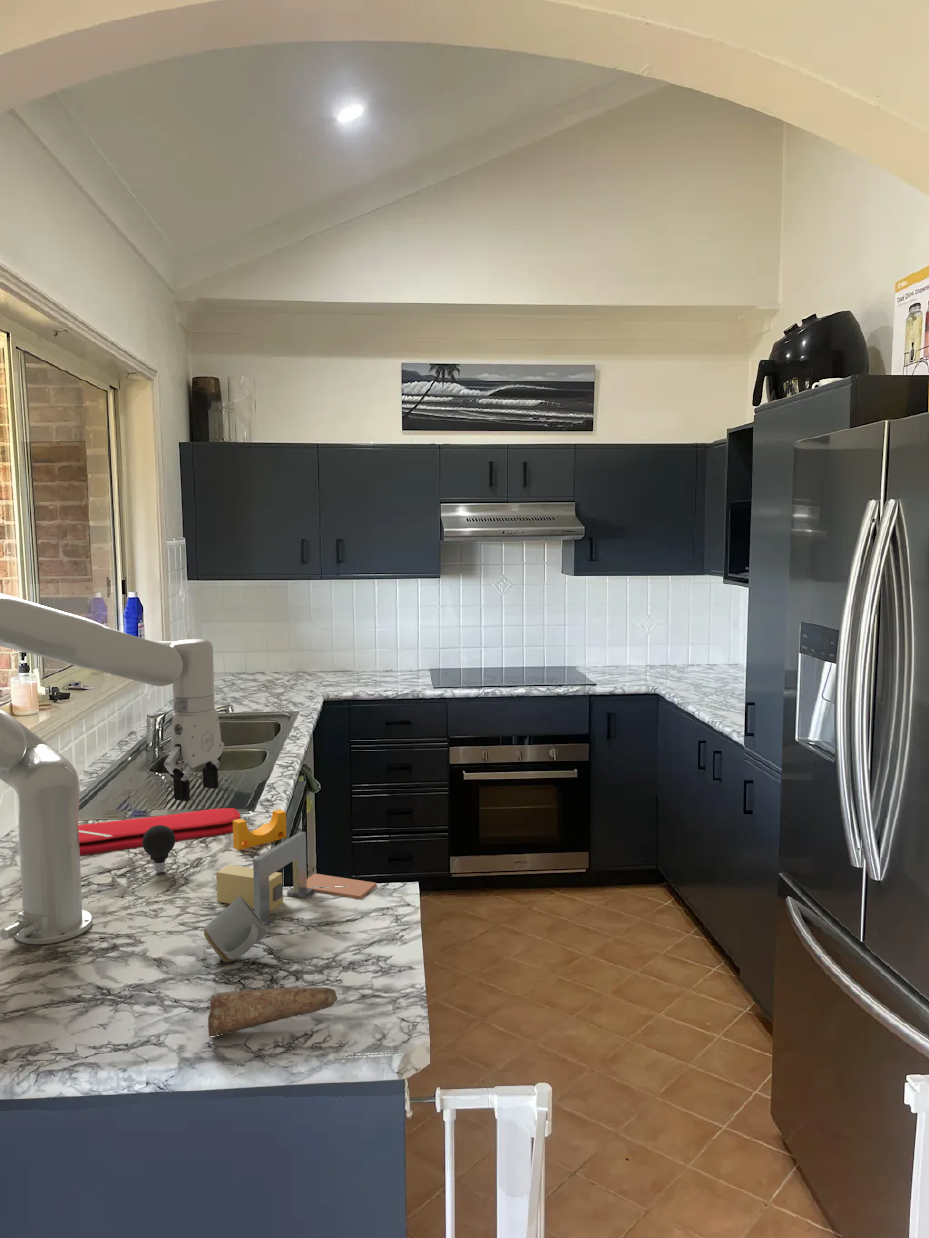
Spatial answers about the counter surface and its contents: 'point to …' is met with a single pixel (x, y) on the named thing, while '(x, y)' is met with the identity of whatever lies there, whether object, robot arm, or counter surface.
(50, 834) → the robot arm
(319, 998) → the brown tapered cone
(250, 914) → the ceramic mug
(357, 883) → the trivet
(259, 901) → the grey u-shaped piece
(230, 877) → the tan rectangular block
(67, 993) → the counter surface
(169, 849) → the black rubber blower bulb
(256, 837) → the pipe clamp
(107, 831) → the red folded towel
